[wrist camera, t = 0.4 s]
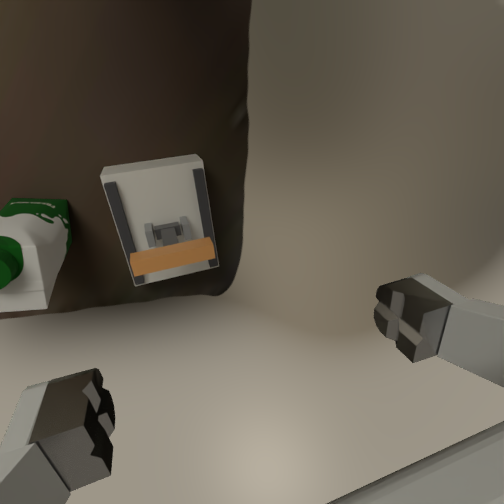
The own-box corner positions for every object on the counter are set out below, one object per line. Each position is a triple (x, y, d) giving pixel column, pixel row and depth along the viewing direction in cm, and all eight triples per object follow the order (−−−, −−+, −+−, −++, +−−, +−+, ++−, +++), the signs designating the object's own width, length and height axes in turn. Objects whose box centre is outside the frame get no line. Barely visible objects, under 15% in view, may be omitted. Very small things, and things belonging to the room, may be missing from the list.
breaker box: (104, 167, 46) (97, 182, 38) (196, 153, 50) (207, 165, 42) (135, 268, 55) (135, 298, 47) (212, 251, 58) (224, 276, 50)
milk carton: (73, 193, 47) (36, 250, 30) (79, 248, 50) (50, 325, 33) (2, 191, 44) (-83, 252, 27) (15, 249, 47) (-53, 334, 30)
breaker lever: (131, 229, 45) (129, 262, 36) (199, 216, 47) (213, 244, 38) (134, 241, 46) (134, 276, 37) (201, 228, 48) (215, 258, 39)
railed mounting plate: (104, 182, 42) (103, 185, 41) (201, 167, 45) (203, 169, 44) (135, 280, 49) (135, 285, 48) (216, 261, 53) (218, 265, 51)
